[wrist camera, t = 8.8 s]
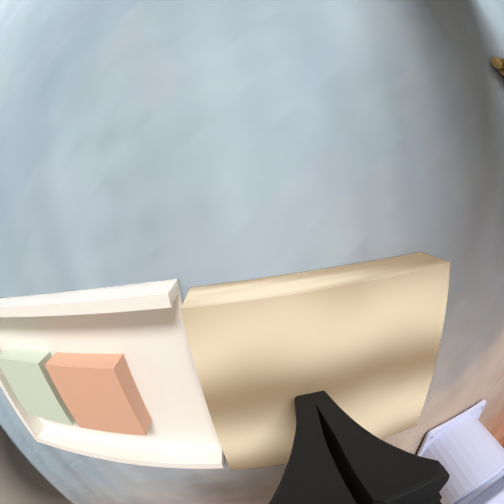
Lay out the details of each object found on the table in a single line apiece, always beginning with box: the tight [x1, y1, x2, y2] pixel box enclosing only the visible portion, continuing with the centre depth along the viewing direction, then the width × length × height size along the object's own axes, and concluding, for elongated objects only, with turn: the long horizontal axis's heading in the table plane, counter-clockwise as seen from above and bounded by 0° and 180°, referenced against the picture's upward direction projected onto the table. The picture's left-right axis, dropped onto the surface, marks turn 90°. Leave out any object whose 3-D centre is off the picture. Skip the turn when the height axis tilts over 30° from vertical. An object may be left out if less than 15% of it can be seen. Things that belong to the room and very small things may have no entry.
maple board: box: [180, 252, 450, 470], centre depth 13 cm, size 11×12×2 cm
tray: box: [0, 279, 224, 469], centre depth 12 cm, size 12×16×2 cm
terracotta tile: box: [44, 352, 152, 436], centre depth 12 cm, size 5×5×2 cm
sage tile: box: [0, 348, 75, 426], centre depth 12 cm, size 5×5×2 cm
